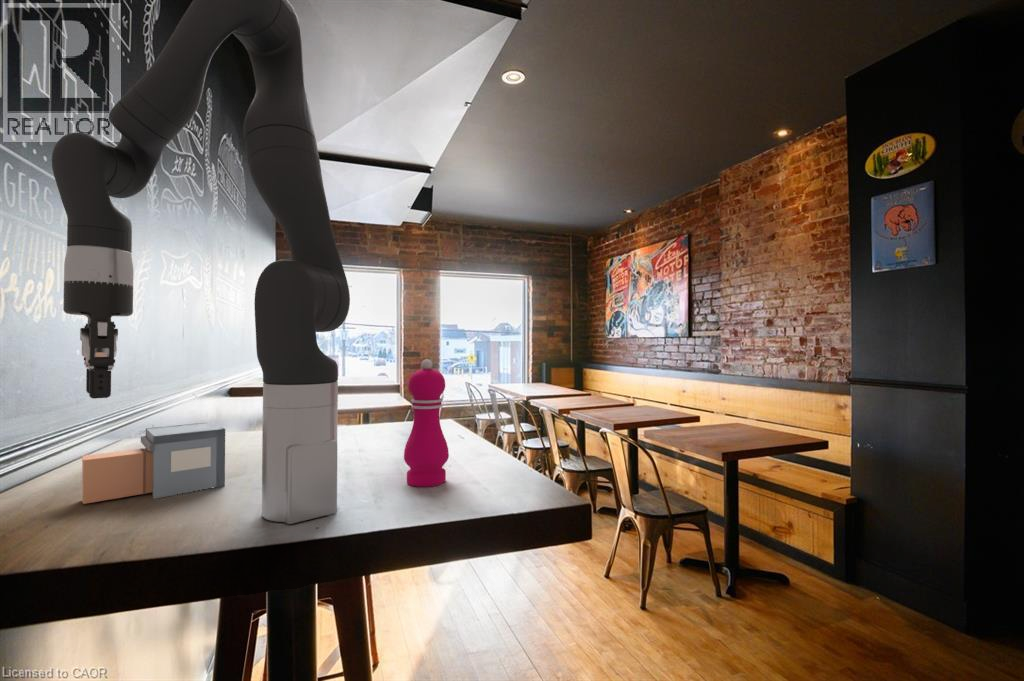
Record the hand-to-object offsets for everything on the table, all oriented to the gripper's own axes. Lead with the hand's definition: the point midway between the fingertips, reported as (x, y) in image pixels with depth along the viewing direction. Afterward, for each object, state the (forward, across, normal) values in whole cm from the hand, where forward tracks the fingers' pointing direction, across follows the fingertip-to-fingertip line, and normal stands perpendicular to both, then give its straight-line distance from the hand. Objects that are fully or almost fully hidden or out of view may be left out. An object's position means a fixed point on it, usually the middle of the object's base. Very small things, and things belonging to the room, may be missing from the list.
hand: (98, 395), depth 68 cm
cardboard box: (+15, 0, -6) cm, 16 cm away
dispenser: (+15, 0, -10) cm, 18 cm away
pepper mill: (+15, -24, -40) cm, 49 cm away
